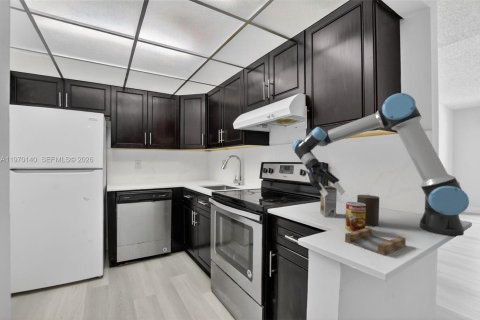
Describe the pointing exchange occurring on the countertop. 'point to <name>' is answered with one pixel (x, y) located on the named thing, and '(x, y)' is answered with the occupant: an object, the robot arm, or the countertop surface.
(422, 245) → the countertop surface
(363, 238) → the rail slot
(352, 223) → the canned food
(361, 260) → the countertop surface
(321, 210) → the coffee box
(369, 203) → the pillar candle
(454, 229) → the robot arm
